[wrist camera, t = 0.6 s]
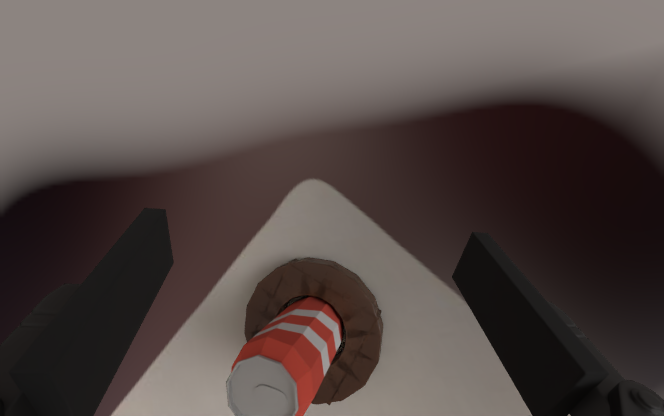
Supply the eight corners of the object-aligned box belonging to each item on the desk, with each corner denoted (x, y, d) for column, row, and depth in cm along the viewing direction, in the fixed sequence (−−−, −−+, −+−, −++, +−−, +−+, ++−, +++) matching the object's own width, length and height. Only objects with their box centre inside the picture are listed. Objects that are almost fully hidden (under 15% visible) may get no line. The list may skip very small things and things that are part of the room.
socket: (289, 234, 32) (281, 236, 31) (407, 305, 30) (407, 312, 28) (234, 342, 34) (224, 350, 32) (341, 418, 32) (337, 432, 30)
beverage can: (338, 362, 31) (296, 458, 20) (281, 342, 33) (210, 420, 21) (351, 305, 31) (315, 369, 19) (292, 287, 33) (226, 336, 21)
